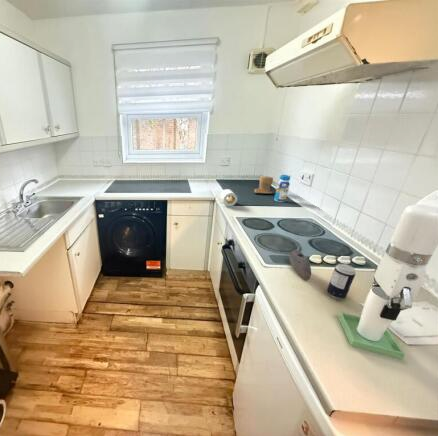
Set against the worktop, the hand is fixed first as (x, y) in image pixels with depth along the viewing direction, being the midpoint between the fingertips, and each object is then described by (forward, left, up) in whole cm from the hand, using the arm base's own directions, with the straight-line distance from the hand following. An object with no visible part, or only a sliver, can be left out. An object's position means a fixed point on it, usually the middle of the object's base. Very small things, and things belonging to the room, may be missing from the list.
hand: (380, 308), depth 66 cm
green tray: (0, 0, -11) cm, 11 cm away
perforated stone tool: (+13, -29, -11) cm, 34 cm away
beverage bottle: (+10, -132, -11) cm, 133 cm away
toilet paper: (+48, -109, -11) cm, 120 cm away
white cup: (0, 0, -10) cm, 10 cm away
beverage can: (+3, -18, -11) cm, 21 cm away
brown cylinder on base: (+22, -150, -11) cm, 152 cm away
